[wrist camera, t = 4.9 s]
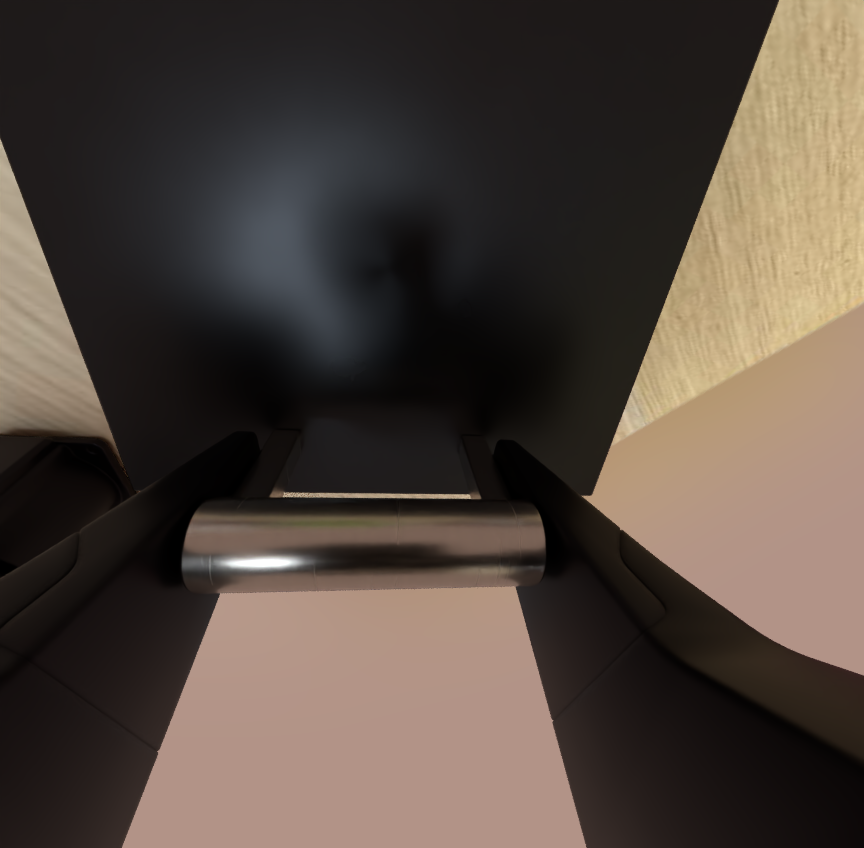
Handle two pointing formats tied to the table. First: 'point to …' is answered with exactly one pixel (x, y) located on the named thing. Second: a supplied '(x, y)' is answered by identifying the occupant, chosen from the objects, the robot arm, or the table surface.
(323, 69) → the lid
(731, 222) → the table surface
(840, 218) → the table surface
